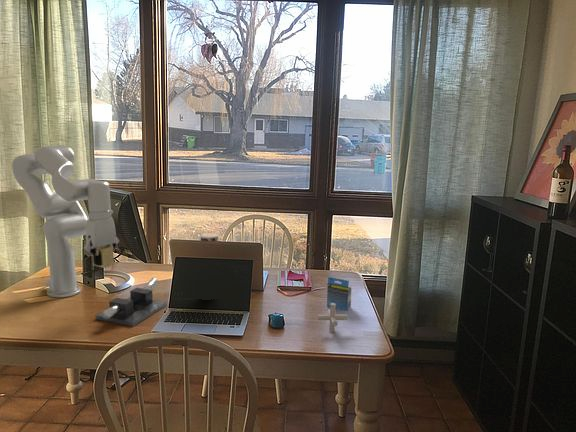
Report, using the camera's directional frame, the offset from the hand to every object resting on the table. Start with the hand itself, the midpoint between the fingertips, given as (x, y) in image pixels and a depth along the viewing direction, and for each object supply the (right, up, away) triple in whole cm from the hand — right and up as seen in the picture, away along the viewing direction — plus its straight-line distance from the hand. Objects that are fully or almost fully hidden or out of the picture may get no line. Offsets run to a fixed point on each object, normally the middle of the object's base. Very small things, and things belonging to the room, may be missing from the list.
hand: (103, 262), depth 176 cm
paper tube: (+36, -15, +20) cm, 44 cm away
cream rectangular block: (0, -1, 0) cm, 1 cm away
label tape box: (+88, -18, +9) cm, 91 cm away
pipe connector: (+84, -23, -12) cm, 88 cm away
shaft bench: (+11, -18, 0) cm, 21 cm away
